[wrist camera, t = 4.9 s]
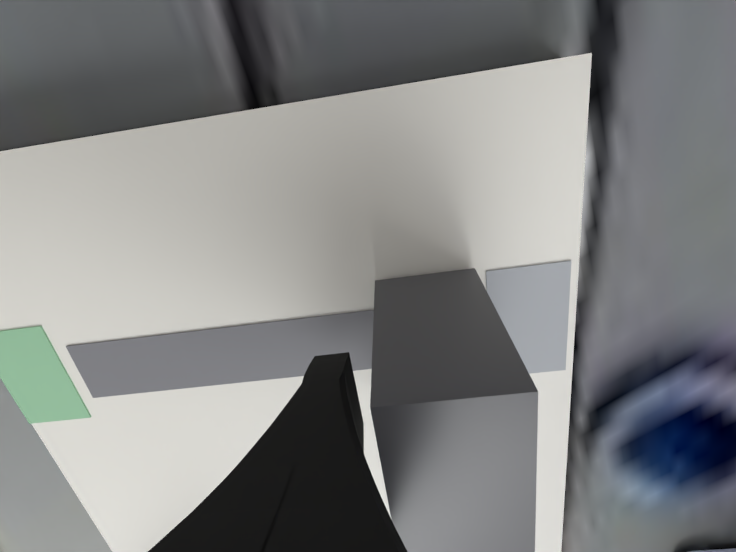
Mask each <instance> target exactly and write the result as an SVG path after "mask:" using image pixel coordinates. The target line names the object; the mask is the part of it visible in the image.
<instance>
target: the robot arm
mask: <svg viewBox="0 0 736 552" xmlns="http://www.w3.org/2000/svg"><path fill="white" fill-rule="evenodd" d="M148 552H407V550H406V548H405V546H404V544H403V542H402V540H401V538H400V536H399V534H398V532H397V530H396V528H395V526H394V524H393V522H392V520H391V518H390V515H389V513H388V511H387V509H386V507H385V504H384V502H383V500H382V498H381V496H380V493H379V491H378V488H377V486H376V484H375V481H374V479H373V476H372V474H371V471H370V469H369V466H368V464H367V461H366V458H365V456H364V423H363V418H362V413H361V408H360V403H359V398H358V393H357V388H356V383H355V379H354V374H353V369H352V364H351V359H350V354H349V352H346V353H337V354H328V355H319V356H314V358H313V359H312V361H311V363H310V364H309V366H308V368H307V370H306V372H305V374H304V377H303V381H302V384H301V385H300V387H299V388H298V389H297V391H296V392H295V394H294V395H293V396H292V398H291V399H290V400H289V402H288V403H287V404H286V406H285V407H284V408H283V410H282V411H281V412H280V414H279V415H278V416H277V418H276V419H275V420H274V422H273V423H272V424H271V425H270V427H269V428H268V429H267V430H266V432H265V433H264V434H263V435H262V436H261V438H260V439H259V440H258V441H257V442H256V444H255V445H254V446H253V447H252V448H251V449H250V451H249V452H248V453H247V454H246V455H245V457H244V458H243V459H242V460H241V461H240V462H239V464H238V465H237V466H236V467H235V468H234V469H233V470H232V471H231V472H230V474H229V475H228V476H227V477H226V478H225V479H224V480H223V481H222V482H221V483H220V484H219V485H218V486H217V487H216V488H215V489H214V490H213V491H212V492H211V493H210V494H209V495H208V496H207V497H206V498H205V499H204V500H203V501H202V502H201V503H200V504H199V505H198V506H197V507H196V508H195V509H194V510H193V511H192V512H191V513H190V514H189V515H188V516H187V517H186V518H185V519H183V520H182V521H181V522H180V523H179V524H178V525H177V526H176V527H175V528H174V529H172V530H171V531H170V532H169V533H168V534H167V535H166V536H165V537H164V538H162V539H161V540H160V541H159V542H158V543H157V544H156V545H155V546H154V547H152V548H151V549H150V550H149V551H148ZM688 552H736V548H732V549H715V550H699V551H688Z"/></svg>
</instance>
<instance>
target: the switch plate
mask: <svg viewBox="0 0 736 552" xmlns="http://www.w3.org/2000/svg"><path fill="white" fill-rule="evenodd" d="M591 59H592V53H588V54H582V55H576V56H570V57H564V58H558V59H552V60H546V61H540V62H534V63H528V64H522V65H516V66H510V67H504V68H498V69H492V70H486V71H480V72H474V73H468V74H462V75H456V76H450V77H444V78H438V79H432V80H426V81H420V82H414V83H408V84H402V85H396V86H390V87H384V88H378V89H372V90H366V91H360V92H354V93H348V94H342V95H336V96H330V97H324V98H318V99H312V100H306V101H300V102H294V103H287V104H281V105H275V106H269V107H263V108H257V109H251V110H245V111H239V112H233V113H227V114H221V115H215V116H209V117H203V118H197V119H191V120H185V121H179V122H173V123H167V124H161V125H155V126H149V127H143V128H137V129H131V130H125V131H119V132H113V133H107V134H101V135H95V136H89V137H83V138H77V139H71V140H65V141H59V142H53V143H47V144H41V145H35V146H29V147H23V148H17V149H11V150H5V151H0V378H1V380H2V381H3V383H4V384H5V386H6V388H7V389H8V391H9V392H10V394H11V396H12V397H13V399H14V400H15V402H16V403H17V405H18V407H19V408H20V410H21V411H22V413H23V414H24V416H25V418H26V419H27V421H28V422H29V424H32V425H33V427H34V429H35V430H36V432H37V433H38V435H39V436H40V438H41V440H42V441H43V443H44V444H45V446H46V447H47V449H48V451H49V452H50V454H51V455H52V457H53V459H54V460H55V462H56V463H57V465H58V466H59V468H60V470H61V471H62V473H63V474H64V476H65V478H66V479H67V481H68V482H69V484H70V485H71V487H72V489H73V490H74V492H75V493H76V495H77V497H78V498H79V500H80V501H81V503H82V504H83V506H84V508H85V509H86V511H87V512H88V514H89V515H90V517H91V519H92V520H93V522H94V523H95V525H96V527H97V528H98V530H99V531H100V533H101V534H102V536H103V538H104V539H105V541H106V542H107V544H108V546H109V547H110V549H111V550H112V552H148V551H149V550H150V549H151V548H152V547H154V546H155V545H156V544H157V543H158V542H159V541H160V540H161V539H162V538H164V537H165V536H166V535H167V534H168V533H169V532H170V531H171V530H172V529H174V528H175V527H176V526H177V525H178V524H179V523H180V522H181V521H182V520H183V519H185V518H186V517H187V516H188V515H189V514H190V513H191V512H192V511H193V510H194V509H195V508H196V507H197V506H198V505H199V504H200V503H201V502H202V501H203V500H204V499H205V498H206V497H207V496H208V495H209V494H210V493H211V492H212V491H213V490H214V489H215V488H216V487H217V486H218V485H219V484H220V483H221V482H222V481H223V480H224V479H225V478H226V477H227V476H228V475H229V474H230V472H231V471H232V470H233V469H234V468H235V467H236V466H237V465H238V464H239V462H240V461H241V460H242V459H243V458H244V457H245V455H246V454H247V453H248V452H249V451H250V449H251V448H252V447H253V446H254V445H255V444H256V442H257V441H258V440H259V439H260V438H261V436H262V435H263V434H264V433H265V432H266V430H267V429H268V428H269V427H270V425H271V424H272V423H273V422H274V420H275V419H276V418H277V416H278V415H279V414H280V412H281V411H282V410H283V408H284V407H285V406H286V404H287V403H288V402H289V400H290V399H291V398H292V396H293V395H294V394H295V392H296V391H297V389H298V388H299V387H300V385H301V384H302V381H303V377H304V374H305V372H306V370H307V368H308V366H309V364H310V363H311V361H312V359H313V358H314V356H319V355H328V354H337V353H346V352H349V354H350V359H351V364H352V369H353V374H354V379H355V383H356V388H357V393H358V398H359V403H360V408H361V413H362V418H363V423H364V456H365V458H366V461H367V464H368V466H369V469H370V471H371V474H372V476H373V479H374V481H375V484H376V486H377V488H378V491H379V493H380V496H381V498H382V500H383V502H384V504H385V507H386V509H387V511H388V513H389V515H390V518H391V514H390V509H389V504H388V498H387V493H386V488H385V483H384V478H383V472H382V467H381V462H380V457H379V451H378V446H377V441H376V436H375V431H374V425H373V420H372V415H371V410H370V398H371V372H372V345H373V318H374V292H375V280H383V279H391V278H399V277H407V276H415V275H423V274H431V273H439V272H447V271H455V270H463V269H471V268H475V270H476V271H477V273H478V275H479V277H480V279H481V281H482V283H483V285H484V287H485V289H486V291H487V293H488V295H489V297H490V299H491V301H492V303H493V305H494V306H495V308H496V310H497V312H498V314H499V316H500V318H501V320H502V322H503V324H504V326H505V328H506V330H507V332H508V334H509V336H510V338H511V340H512V341H513V343H514V345H515V347H516V349H517V351H518V353H519V355H520V357H521V359H522V361H523V363H524V365H525V367H526V369H527V371H528V373H529V375H530V376H531V378H532V380H533V382H534V384H535V386H536V388H537V390H538V427H537V475H536V523H535V552H561V547H562V530H563V514H564V498H565V482H566V465H567V449H568V433H569V417H570V400H571V384H572V368H573V352H574V335H575V319H576V303H577V287H578V270H579V254H580V238H581V222H582V206H583V189H584V173H585V157H586V141H587V124H588V108H589V92H590V76H591ZM391 520H392V519H391Z"/></svg>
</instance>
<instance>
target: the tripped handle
mask: <svg viewBox="0 0 736 552" xmlns="http://www.w3.org/2000/svg"><path fill="white" fill-rule="evenodd" d="M370 410H371V415H372V420H373V425H374V431H375V436H376V441H377V446H378V451H379V457H380V462H381V467H382V472H383V478H384V483H385V488H386V493H387V498H388V504H389V509H390V514H391V519H392V522H393V524H394V526H395V528H396V530H397V532H398V534H399V536H400V538H401V540H402V542H403V544H404V546H405V548H406V550H407V552H535V523H536V475H537V427H538V390H537V388H536V386H535V384H534V382H533V380H532V378H531V376H530V375H529V373H528V371H527V369H526V367H525V365H524V363H523V361H522V359H521V357H520V355H519V353H518V351H517V349H516V347H515V345H514V343H513V341H512V340H511V338H510V336H509V334H508V332H507V330H506V328H505V326H504V324H503V322H502V320H501V318H500V316H499V314H498V312H497V310H496V308H495V306H494V305H493V303H492V301H491V299H490V297H489V295H488V293H487V291H486V289H485V287H484V285H483V283H482V281H481V279H480V277H479V275H478V273H477V271H476V270H475V268H471V269H463V270H455V271H447V272H439V273H431V274H423V275H415V276H407V277H399V278H391V279H383V280H375V292H374V318H373V345H372V372H371V398H370Z"/></svg>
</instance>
